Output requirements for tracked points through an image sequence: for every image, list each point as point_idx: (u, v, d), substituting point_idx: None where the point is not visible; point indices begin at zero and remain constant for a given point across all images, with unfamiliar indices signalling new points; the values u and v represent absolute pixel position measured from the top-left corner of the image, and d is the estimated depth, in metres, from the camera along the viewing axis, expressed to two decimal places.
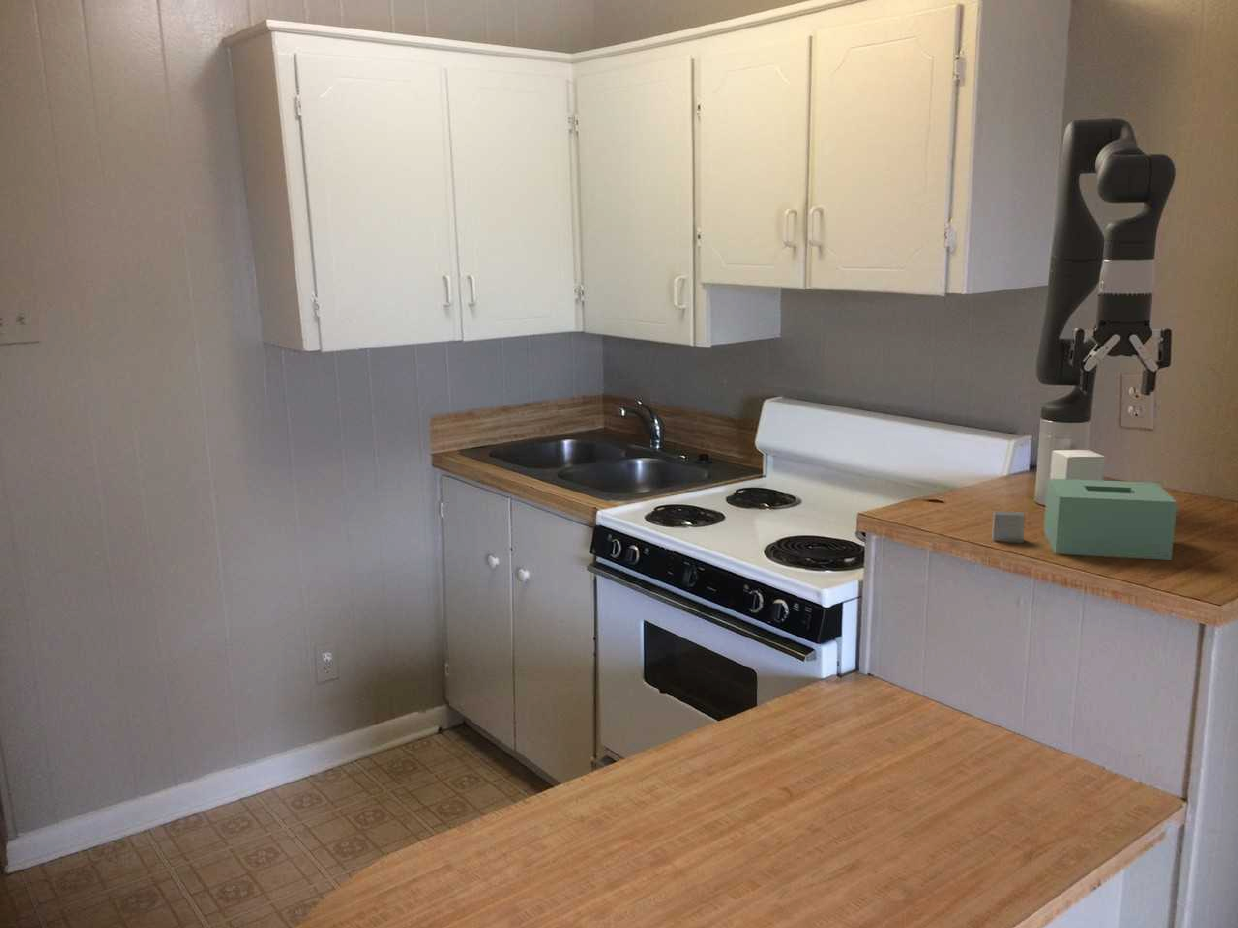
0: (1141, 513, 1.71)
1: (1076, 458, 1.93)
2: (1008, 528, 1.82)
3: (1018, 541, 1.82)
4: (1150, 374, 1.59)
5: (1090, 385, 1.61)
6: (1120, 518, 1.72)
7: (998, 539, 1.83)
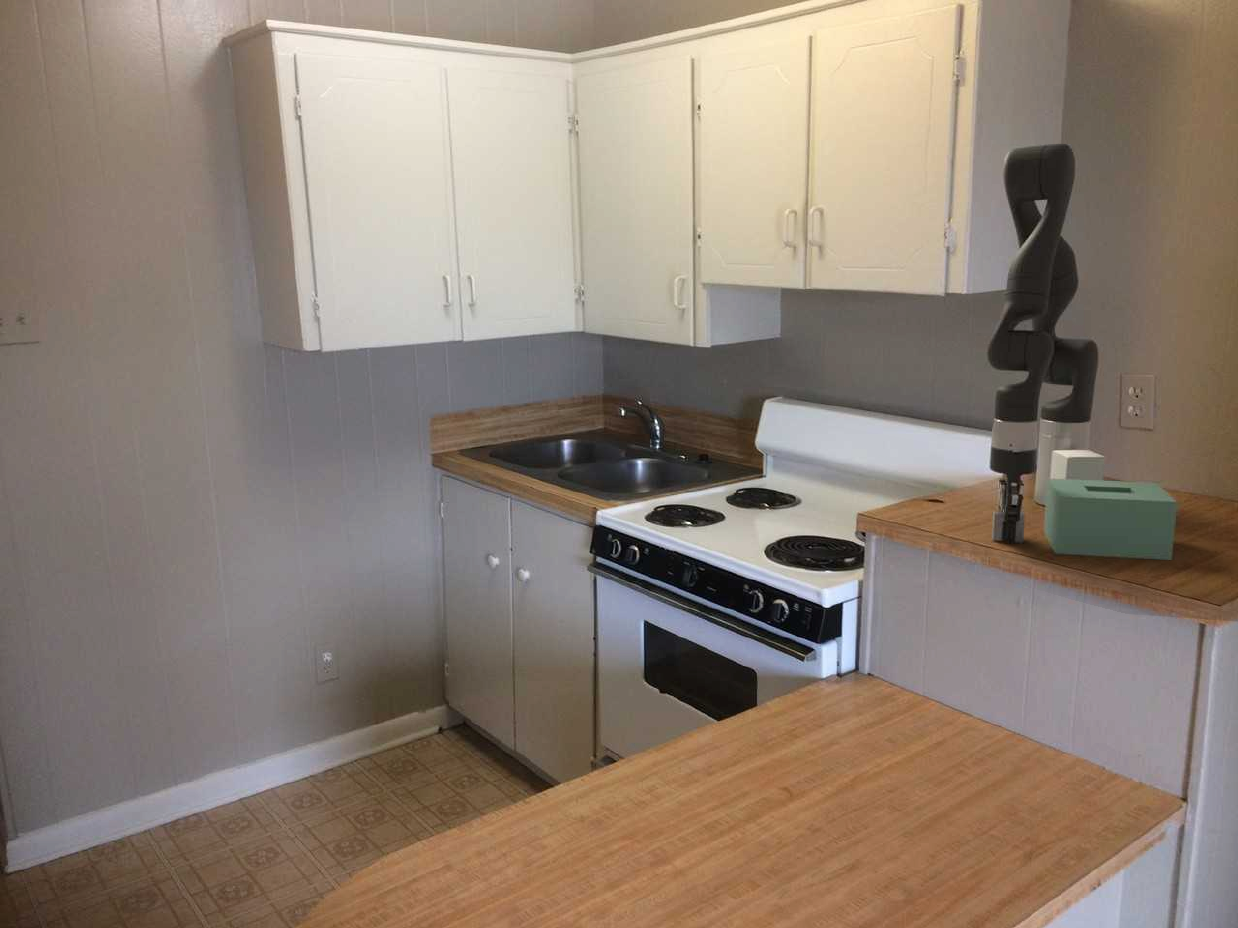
0: (1141, 513, 1.71)
1: (1076, 458, 1.93)
2: None
3: (1018, 541, 1.82)
4: None
5: None
6: (1120, 518, 1.72)
7: (998, 538, 1.83)
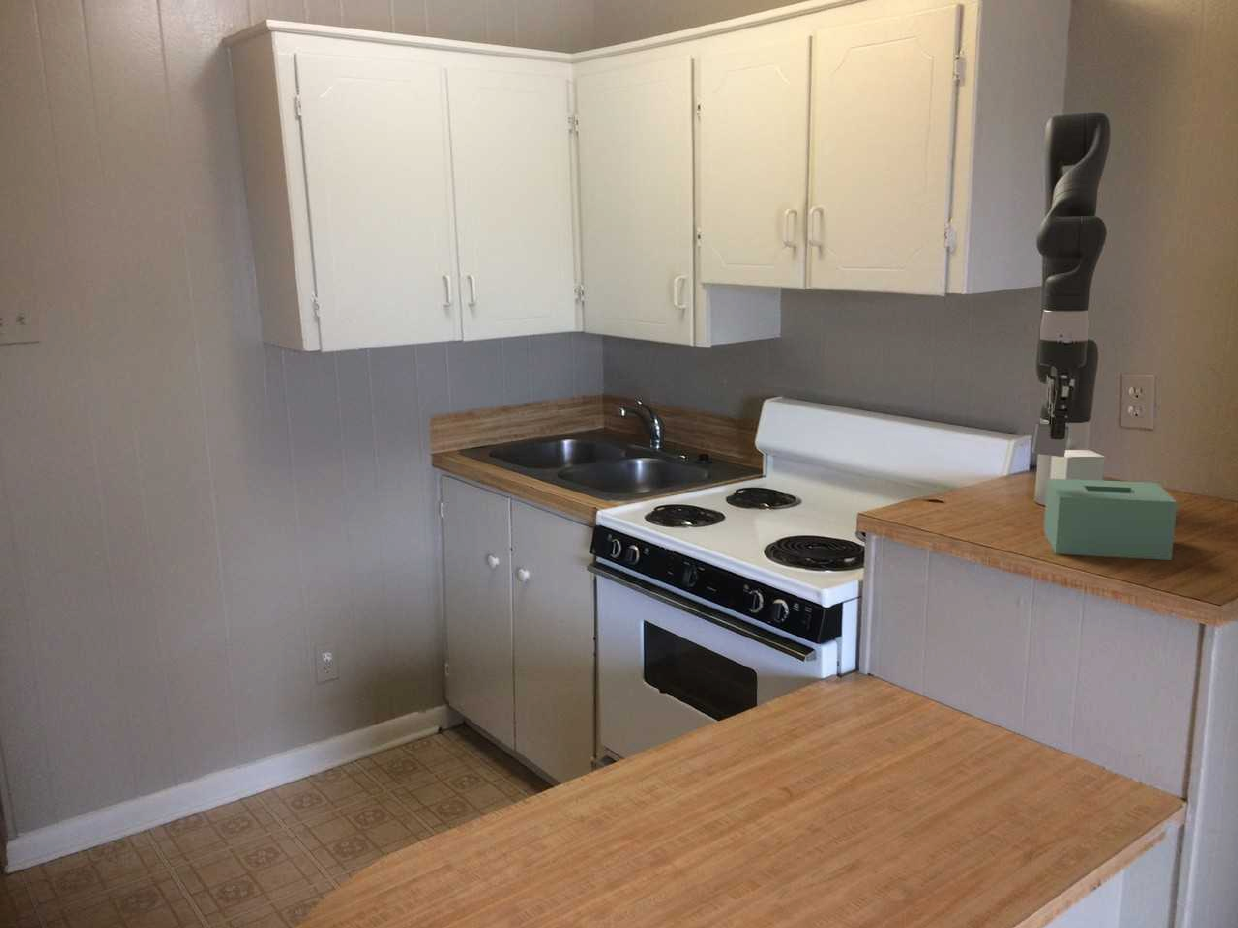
0: (1141, 513, 1.71)
1: (1076, 458, 1.92)
2: (1049, 441, 1.78)
3: (1059, 455, 1.78)
4: None
5: (1064, 430, 1.77)
6: (1120, 518, 1.72)
7: (1038, 451, 1.79)
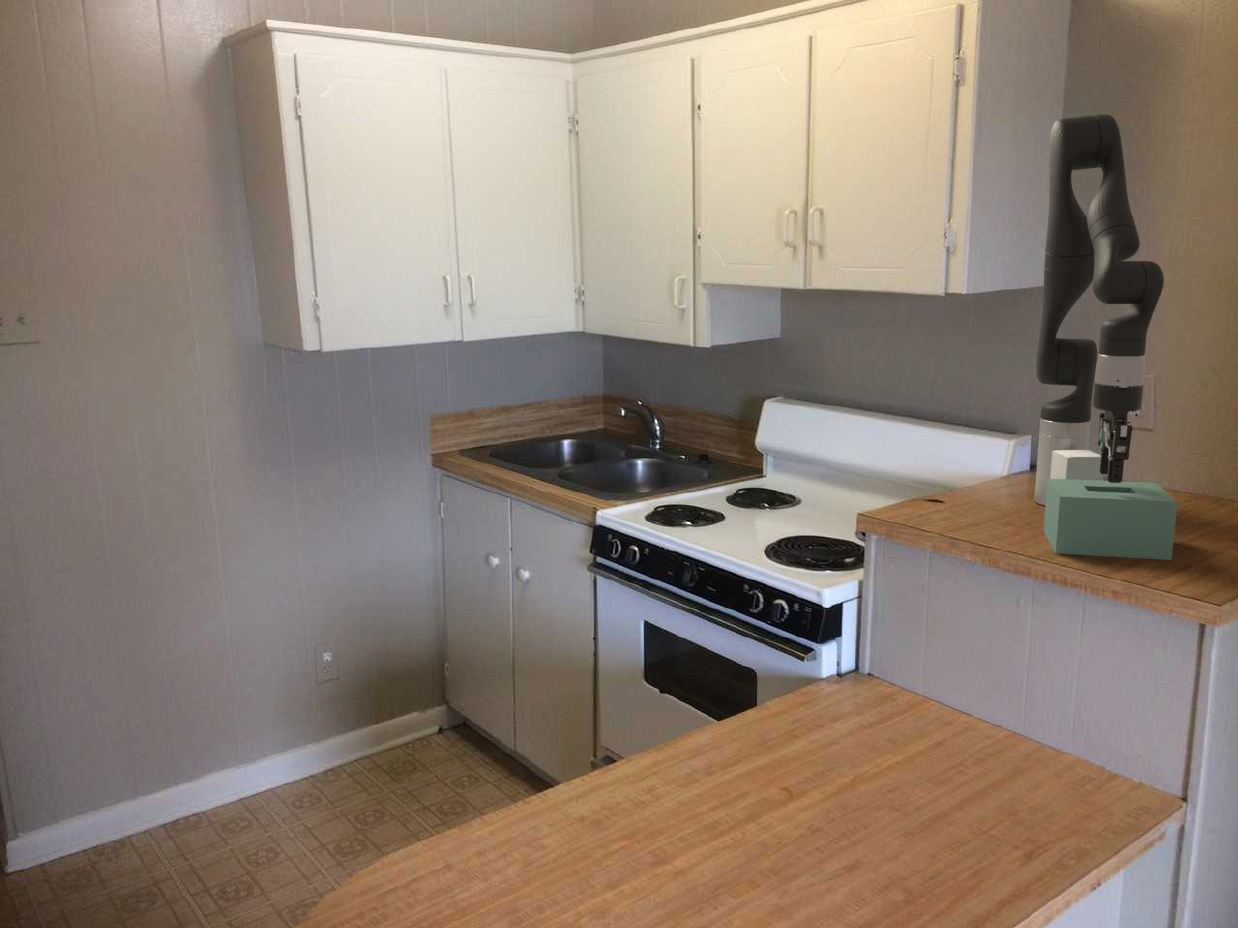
0: (1141, 513, 1.71)
1: (1076, 458, 1.92)
2: None
3: None
4: None
5: None
6: (1120, 518, 1.72)
7: None
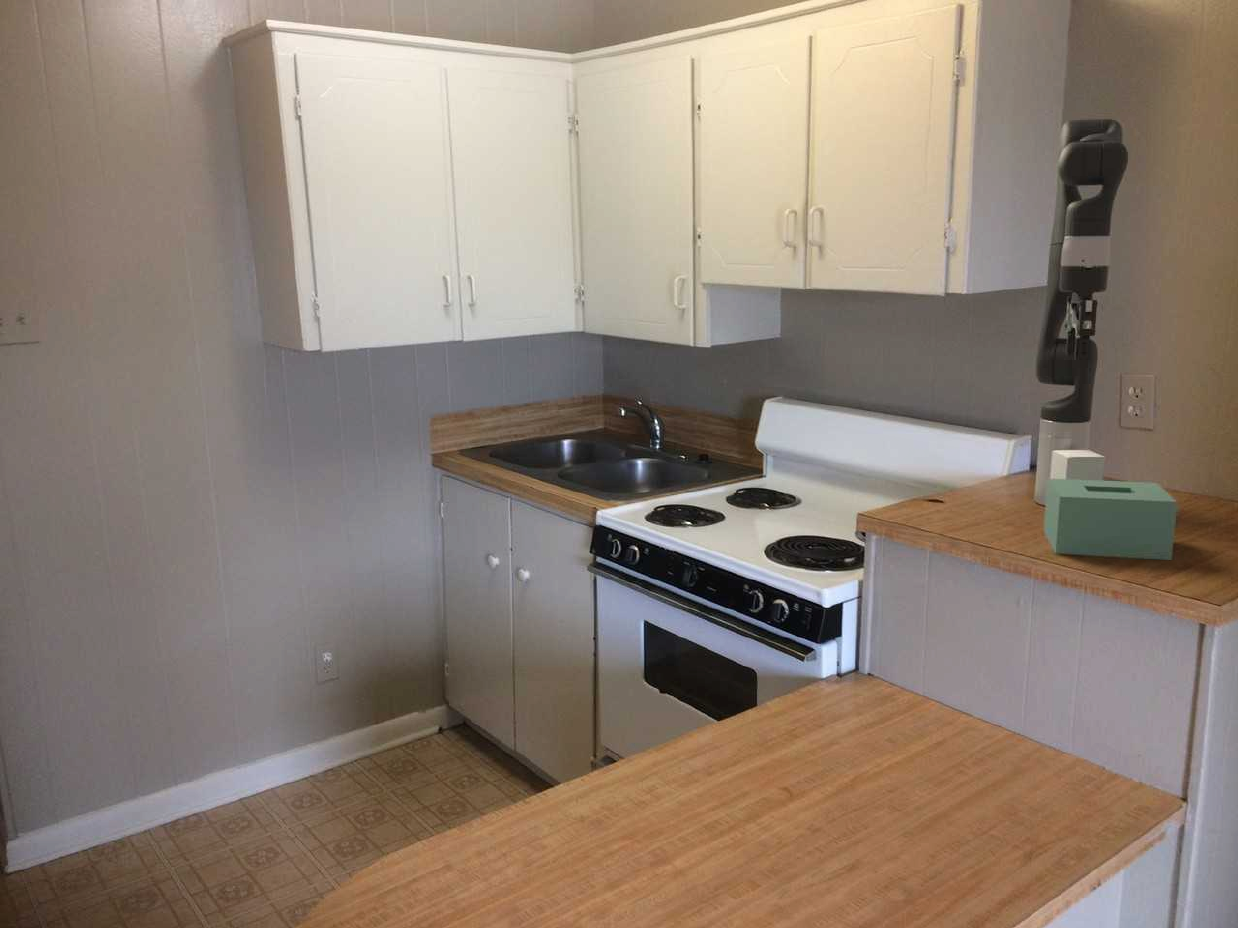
0: (1141, 513, 1.71)
1: (1076, 458, 1.93)
2: None
3: None
4: None
5: None
6: (1120, 518, 1.72)
7: None
